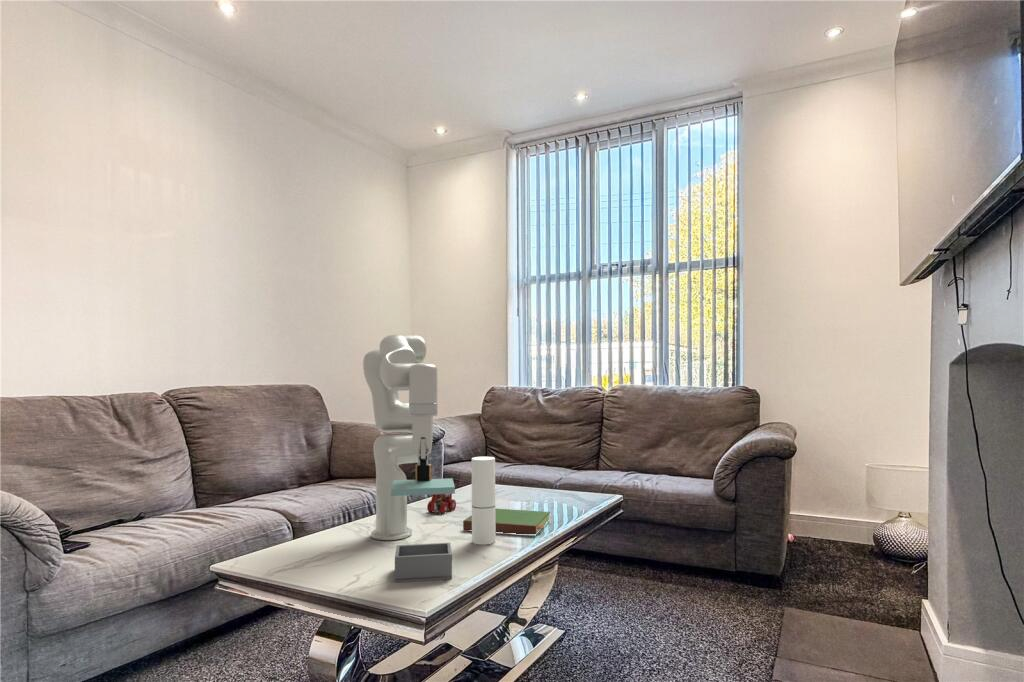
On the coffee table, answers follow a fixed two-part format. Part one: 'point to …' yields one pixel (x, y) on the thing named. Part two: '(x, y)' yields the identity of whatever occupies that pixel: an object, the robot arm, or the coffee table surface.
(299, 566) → the coffee table surface
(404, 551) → the tub
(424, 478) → the robot arm
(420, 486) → the lid
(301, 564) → the coffee table surface
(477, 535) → the cylindrical container
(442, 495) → the toy fire truck
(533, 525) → the hardcover book
